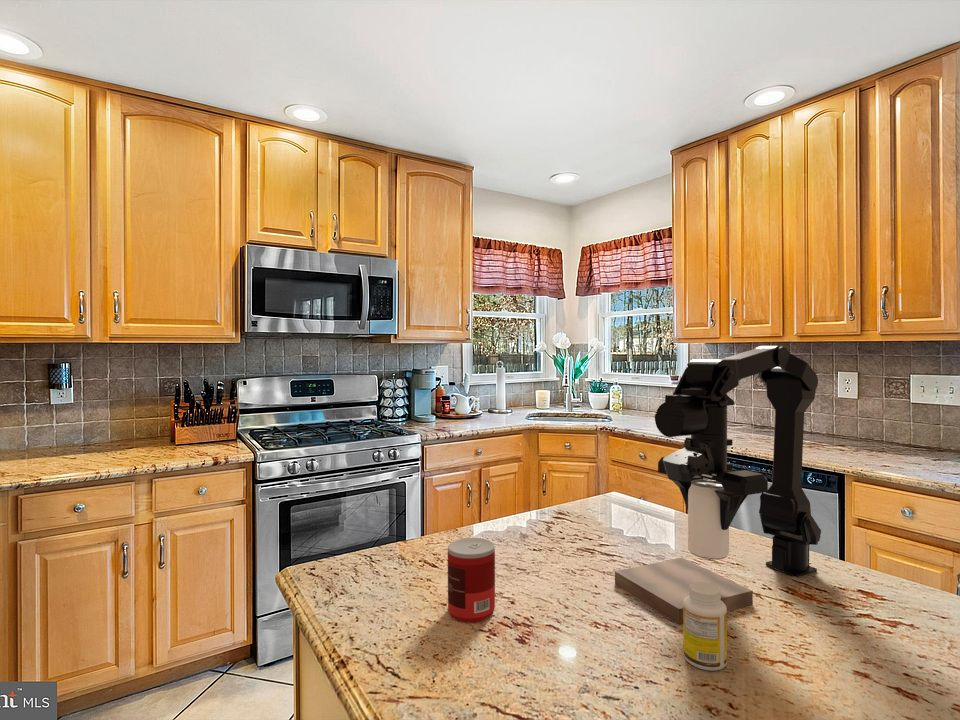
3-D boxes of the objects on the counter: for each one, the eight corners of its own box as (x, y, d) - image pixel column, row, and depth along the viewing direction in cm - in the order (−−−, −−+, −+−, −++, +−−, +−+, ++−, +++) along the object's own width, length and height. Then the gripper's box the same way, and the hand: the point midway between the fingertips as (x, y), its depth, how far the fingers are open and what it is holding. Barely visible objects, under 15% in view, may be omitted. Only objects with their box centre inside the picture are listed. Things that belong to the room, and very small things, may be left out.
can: (733, 561, 89) (733, 488, 89) (691, 558, 90) (692, 486, 90) (723, 547, 95) (723, 479, 95) (684, 545, 96) (684, 478, 96)
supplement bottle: (704, 646, 78) (704, 576, 78) (736, 667, 73) (736, 591, 73) (674, 655, 76) (674, 582, 76) (704, 676, 71) (704, 599, 71)
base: (682, 570, 105) (682, 557, 105) (752, 605, 91) (752, 590, 90) (614, 584, 99) (614, 571, 99) (679, 624, 84) (679, 608, 84)
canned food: (500, 604, 91) (500, 540, 91) (485, 627, 84) (485, 557, 84) (458, 598, 94) (458, 535, 94) (440, 619, 86) (440, 551, 86)
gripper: (634, 428, 97) (634, 514, 98) (719, 444, 80) (718, 548, 81) (681, 425, 102) (680, 507, 102) (770, 439, 85) (769, 538, 85)
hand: (708, 523), depth 92 cm, fingers closed on can, 6 cm apart
